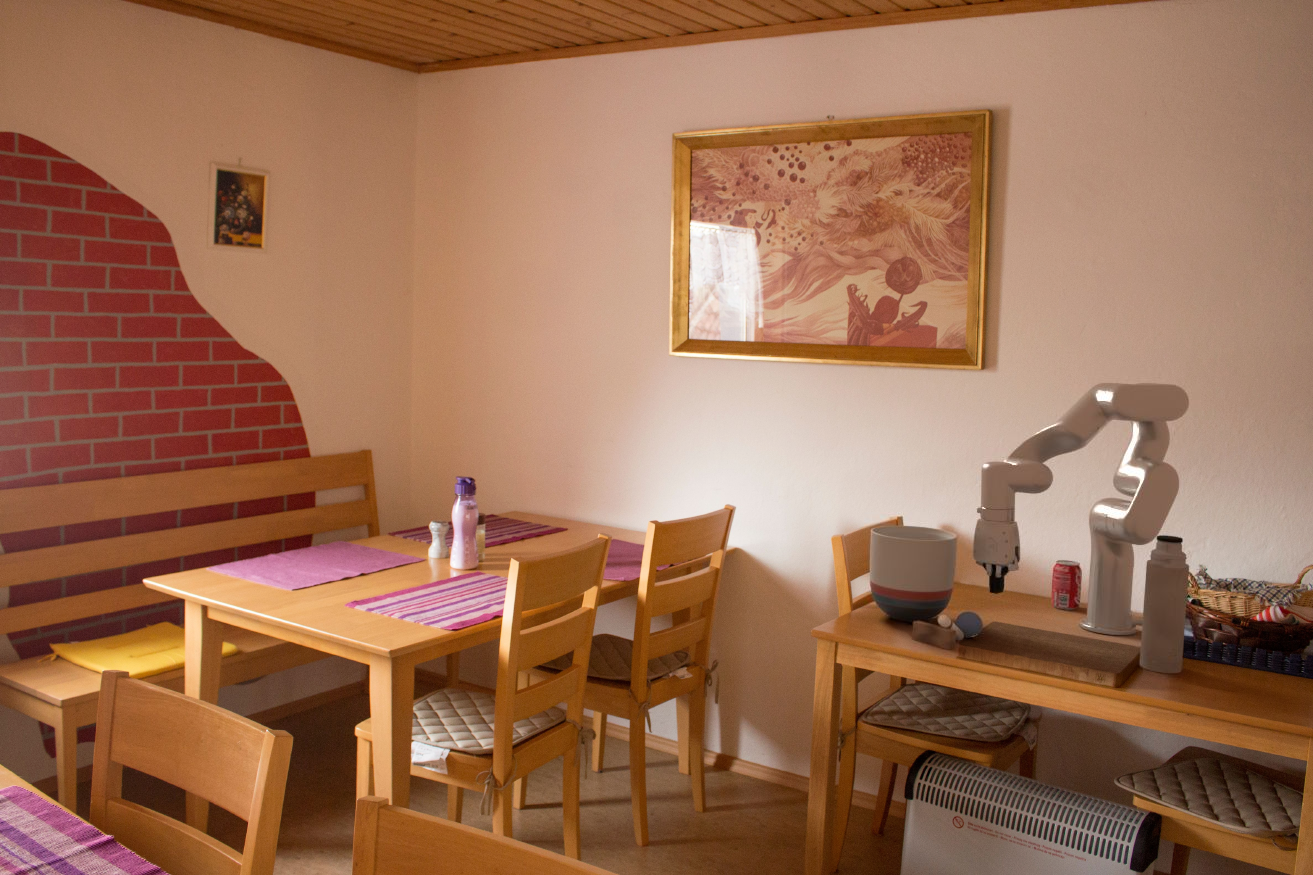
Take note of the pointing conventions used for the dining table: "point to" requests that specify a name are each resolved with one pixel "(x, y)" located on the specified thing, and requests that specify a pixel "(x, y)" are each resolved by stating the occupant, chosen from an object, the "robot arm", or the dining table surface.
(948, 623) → the pin
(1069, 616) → the dining table surface
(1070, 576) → the soda can
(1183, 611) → the thermos bottle
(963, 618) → the ball
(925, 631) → the stopper bar
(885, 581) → the planter
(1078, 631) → the dining table surface
